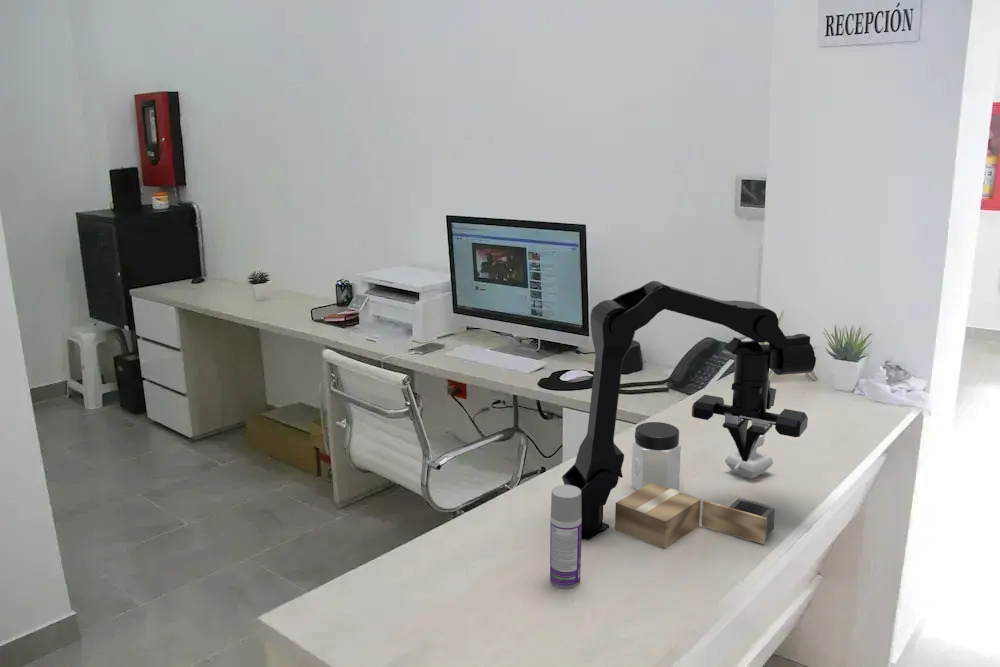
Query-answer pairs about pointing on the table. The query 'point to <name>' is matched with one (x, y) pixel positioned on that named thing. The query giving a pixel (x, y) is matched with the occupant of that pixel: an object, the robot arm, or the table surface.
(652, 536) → the carton
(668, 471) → the jar
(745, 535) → the flap
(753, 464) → the stamp
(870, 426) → the table surface
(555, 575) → the container
